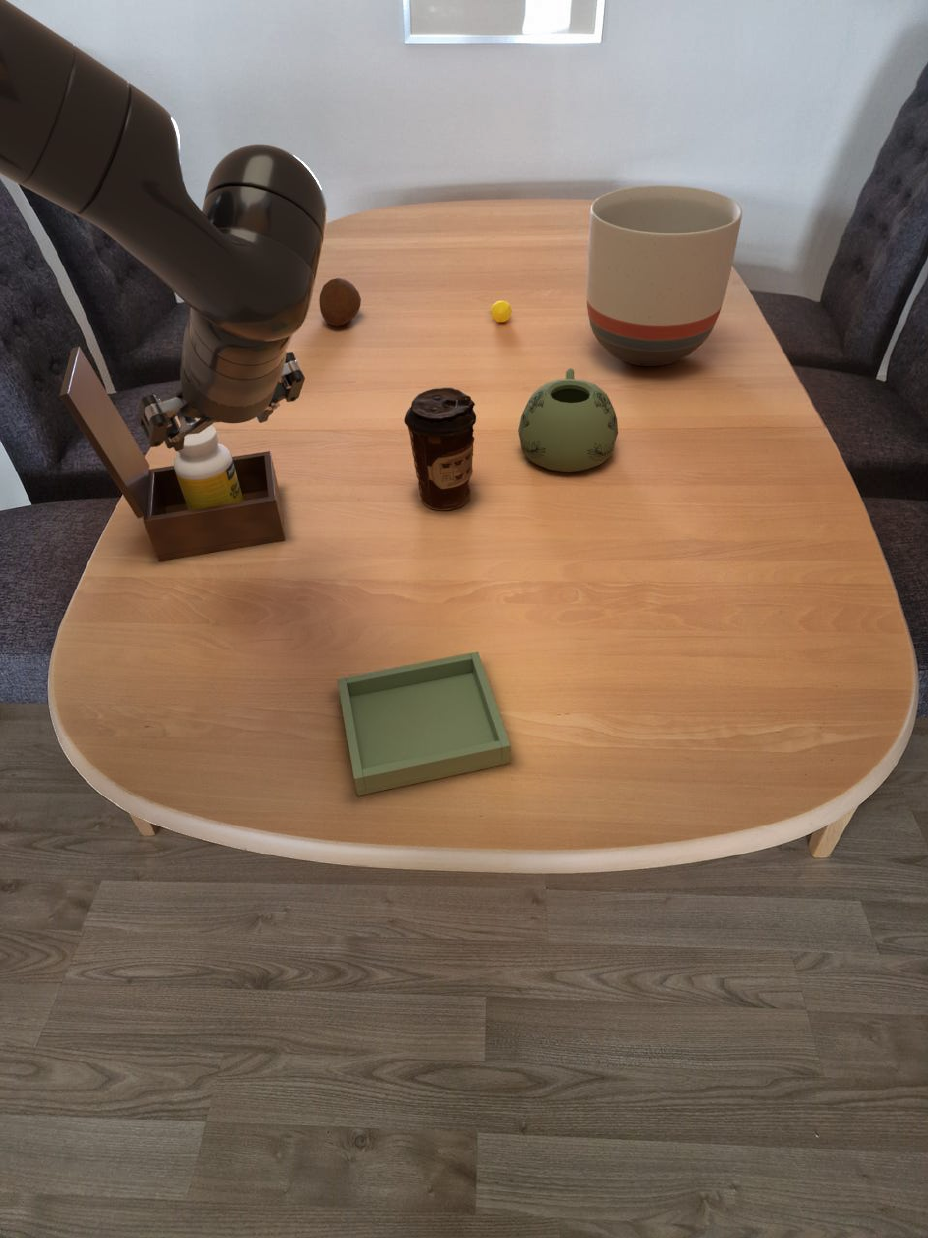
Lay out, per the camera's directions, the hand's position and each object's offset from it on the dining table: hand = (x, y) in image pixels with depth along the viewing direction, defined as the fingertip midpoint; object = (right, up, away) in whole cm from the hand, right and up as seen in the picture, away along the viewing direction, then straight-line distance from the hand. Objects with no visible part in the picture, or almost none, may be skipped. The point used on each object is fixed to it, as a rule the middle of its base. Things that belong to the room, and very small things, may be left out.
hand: (217, 426), depth 78 cm
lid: (-14, +2, +9) cm, 17 cm away
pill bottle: (-6, -7, +19) cm, 21 cm away
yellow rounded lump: (+30, +32, +59) cm, 74 cm away
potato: (+3, +33, +61) cm, 70 cm away
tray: (+20, -29, -4) cm, 35 cm away
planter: (+52, +22, +48) cm, 74 cm away
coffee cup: (+22, -3, +23) cm, 31 cm away
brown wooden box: (-6, -7, +20) cm, 22 cm away
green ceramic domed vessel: (+38, +5, +30) cm, 48 cm away
